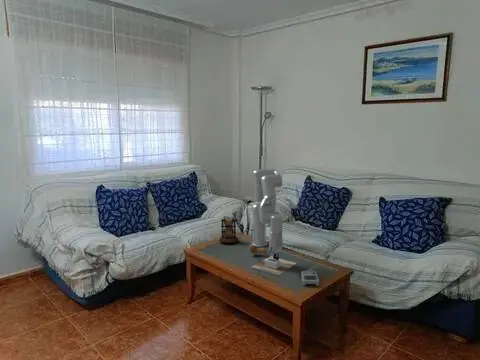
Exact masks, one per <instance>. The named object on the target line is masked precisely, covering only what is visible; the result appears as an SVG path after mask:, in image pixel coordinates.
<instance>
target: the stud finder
mask: <svg viewBox="0 0 480 360" xmlns="http://www.w3.org/2000/svg"><path fill="white" fill-rule="evenodd" d="M267 258H268V257H267ZM265 259H266V258H265ZM265 267H269V268H273V269H277V268H279V267H280V260H276V259H272V258H268V259H266V260H265Z"/></svg>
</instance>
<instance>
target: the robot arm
mask: <svg viewBox="0 0 480 360" xmlns="http://www.w3.org/2000/svg"><path fill="white" fill-rule="evenodd" d="M252 178H253V182H254V201H255V202H256V203H254V204H253V205H252V207H251V211H252V220H253V221H252V222H253V223H252V226H253V229H252V231H253V232H252V235H253V236H252V241H251V242H250V245H254V246H256V247H257V248H261V247H262V248H264V247H266V246H268V253H270V256H272V257H273V259H276V260H279V258H280V253H281V252H282V250H283V245H284V244H283V216H282V214H281V213H280V212H279V211H276V206H277V194H276V193H277V191H276V188H281V187H282V186H283V177H282V175H281V174H280V172H279V171H278V170H277V169H275V168H269V169H268V168H264V169H263V168H262V169H255V170H253V172H252ZM267 225H269V226H270V228H269V229H270V230H269V231H270V232H269V234H270V237H269V236H266V235H267ZM268 239H269V241H267V240H268Z"/></svg>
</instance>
